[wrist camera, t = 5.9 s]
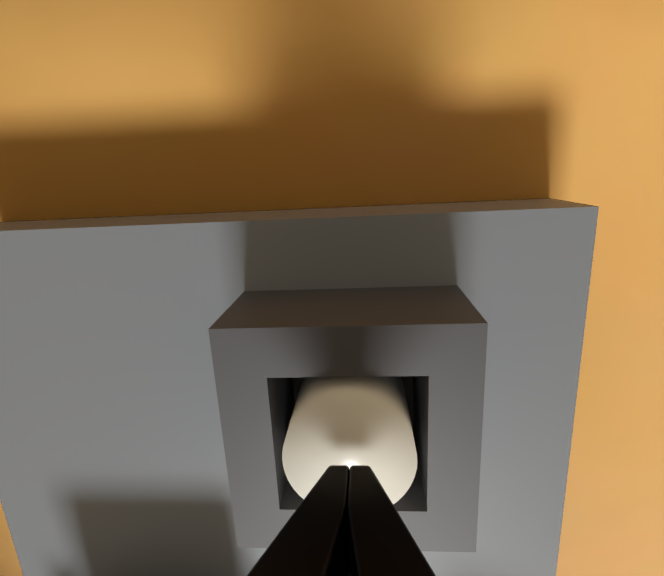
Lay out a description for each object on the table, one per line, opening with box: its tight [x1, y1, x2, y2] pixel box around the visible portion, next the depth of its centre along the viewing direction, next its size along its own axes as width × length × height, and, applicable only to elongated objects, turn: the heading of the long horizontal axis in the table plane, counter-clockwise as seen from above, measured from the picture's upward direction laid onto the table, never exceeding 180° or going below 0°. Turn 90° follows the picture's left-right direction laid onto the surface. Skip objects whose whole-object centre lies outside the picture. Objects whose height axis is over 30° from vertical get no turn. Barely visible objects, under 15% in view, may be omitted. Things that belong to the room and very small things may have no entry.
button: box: [282, 376, 417, 504], centre depth 11 cm, size 3×3×3 cm
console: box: [0, 198, 599, 576], centre depth 15 cm, size 24×19×6 cm
